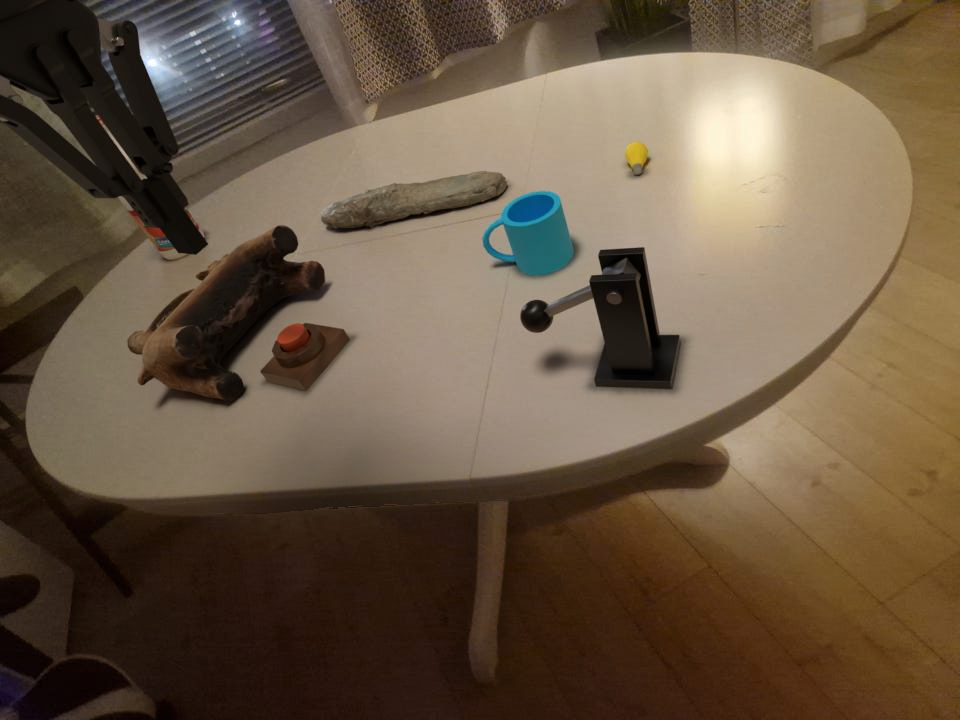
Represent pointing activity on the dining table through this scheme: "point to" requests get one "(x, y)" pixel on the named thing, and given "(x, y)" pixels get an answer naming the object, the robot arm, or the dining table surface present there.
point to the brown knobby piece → (221, 314)
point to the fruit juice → (152, 233)
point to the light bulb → (636, 156)
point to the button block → (305, 358)
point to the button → (293, 337)
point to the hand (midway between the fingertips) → (193, 248)
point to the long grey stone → (413, 199)
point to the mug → (534, 234)
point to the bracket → (631, 327)
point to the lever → (565, 301)
